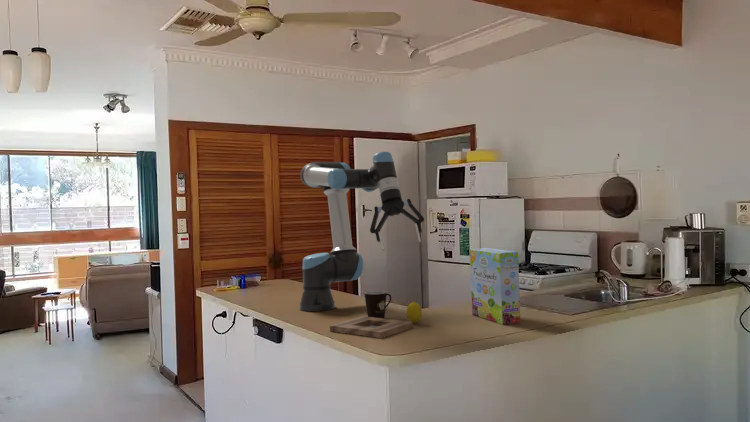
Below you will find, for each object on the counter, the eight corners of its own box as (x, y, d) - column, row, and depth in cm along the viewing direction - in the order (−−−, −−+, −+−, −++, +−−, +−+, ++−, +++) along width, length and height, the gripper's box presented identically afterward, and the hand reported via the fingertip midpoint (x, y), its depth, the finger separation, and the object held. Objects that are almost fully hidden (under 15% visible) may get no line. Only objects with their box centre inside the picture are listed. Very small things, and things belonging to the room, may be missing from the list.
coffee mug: (368, 321, 212) (367, 295, 212) (362, 317, 220) (361, 291, 220) (397, 319, 215) (397, 292, 215) (391, 315, 223) (390, 289, 223)
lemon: (421, 321, 209) (420, 300, 209) (423, 324, 203) (422, 302, 203) (406, 322, 209) (405, 300, 209) (407, 325, 203) (406, 303, 203)
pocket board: (329, 331, 197) (329, 325, 197) (363, 321, 212) (363, 316, 212) (380, 338, 184) (380, 332, 184) (412, 327, 199) (412, 321, 199)
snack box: (469, 315, 218) (467, 248, 218) (489, 313, 221) (487, 247, 221) (501, 325, 198) (499, 252, 198) (522, 323, 201) (520, 250, 201)
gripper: (355, 196, 209) (366, 250, 202) (421, 180, 207) (434, 235, 201) (359, 202, 216) (369, 255, 209) (422, 187, 214) (435, 240, 208)
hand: (401, 245), depth 205 cm, fingers open, 13 cm apart
